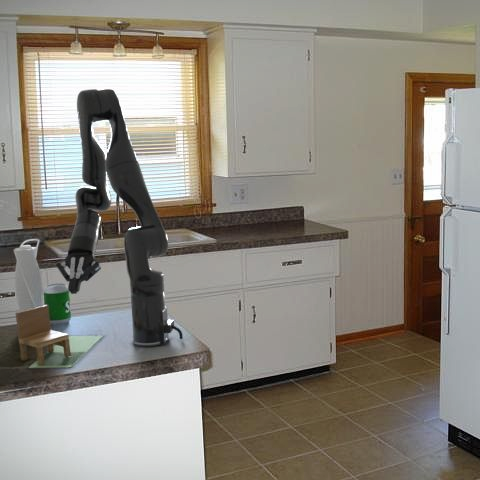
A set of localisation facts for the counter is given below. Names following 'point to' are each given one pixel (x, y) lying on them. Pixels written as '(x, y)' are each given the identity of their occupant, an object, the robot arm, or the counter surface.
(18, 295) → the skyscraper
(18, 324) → the chair
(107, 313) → the counter surface
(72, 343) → the mat
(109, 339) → the counter surface
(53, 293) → the soda can
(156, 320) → the robot arm
